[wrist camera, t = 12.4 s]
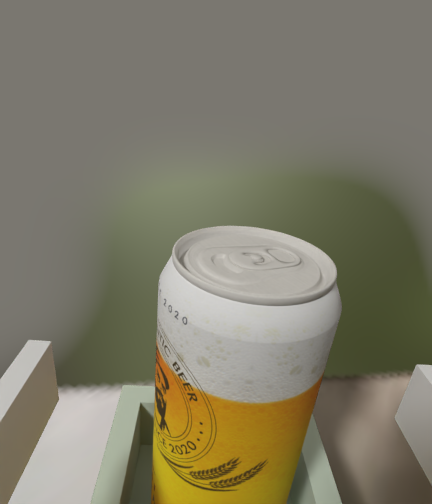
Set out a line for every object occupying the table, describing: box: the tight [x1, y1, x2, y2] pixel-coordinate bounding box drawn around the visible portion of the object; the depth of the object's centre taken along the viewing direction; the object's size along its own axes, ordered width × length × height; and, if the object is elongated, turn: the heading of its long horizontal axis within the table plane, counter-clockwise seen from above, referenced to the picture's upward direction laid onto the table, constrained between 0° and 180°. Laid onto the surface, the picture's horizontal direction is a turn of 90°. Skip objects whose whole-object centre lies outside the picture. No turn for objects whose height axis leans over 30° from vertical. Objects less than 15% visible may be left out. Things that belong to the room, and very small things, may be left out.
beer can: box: [151, 226, 342, 504], centre depth 15 cm, size 6×6×15 cm
